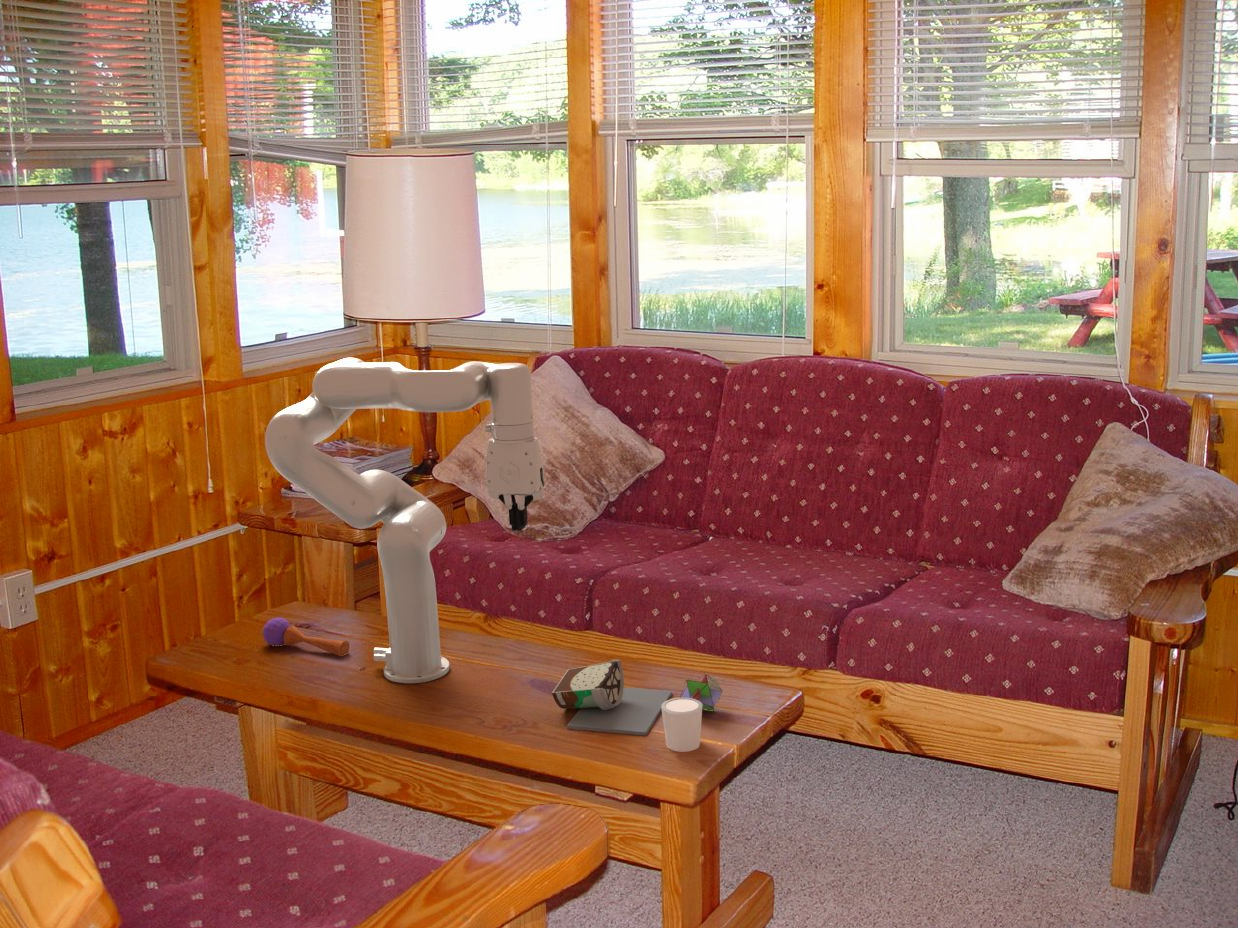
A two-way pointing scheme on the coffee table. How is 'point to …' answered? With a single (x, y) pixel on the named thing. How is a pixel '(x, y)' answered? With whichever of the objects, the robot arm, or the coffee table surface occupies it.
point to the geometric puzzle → (703, 692)
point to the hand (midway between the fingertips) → (518, 528)
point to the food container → (591, 686)
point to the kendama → (299, 637)
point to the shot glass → (682, 723)
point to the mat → (624, 713)
